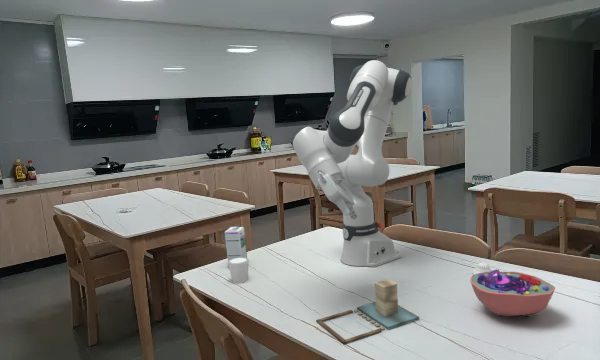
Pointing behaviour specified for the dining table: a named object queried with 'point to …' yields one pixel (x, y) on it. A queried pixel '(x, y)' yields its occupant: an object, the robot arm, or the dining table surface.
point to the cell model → (512, 292)
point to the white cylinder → (238, 269)
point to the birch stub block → (386, 297)
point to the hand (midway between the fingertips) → (351, 216)
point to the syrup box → (235, 243)
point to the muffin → (481, 268)
